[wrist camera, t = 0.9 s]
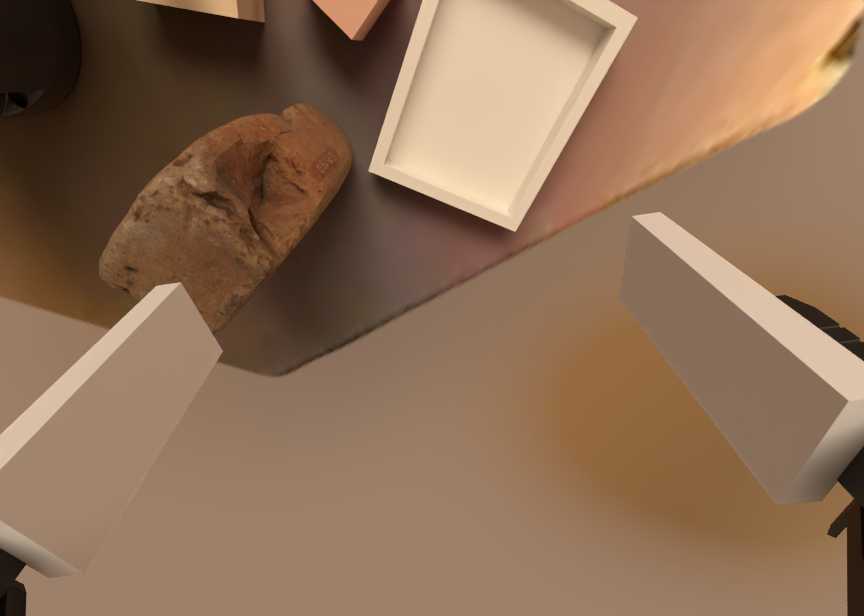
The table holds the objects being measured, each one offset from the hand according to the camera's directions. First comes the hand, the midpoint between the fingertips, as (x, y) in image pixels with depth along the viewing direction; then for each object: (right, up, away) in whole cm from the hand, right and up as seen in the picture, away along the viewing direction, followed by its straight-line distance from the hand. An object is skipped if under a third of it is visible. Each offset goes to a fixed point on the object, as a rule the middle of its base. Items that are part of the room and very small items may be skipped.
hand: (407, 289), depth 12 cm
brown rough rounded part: (-11, +13, +23) cm, 29 cm away
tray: (+5, +17, +20) cm, 27 cm away
